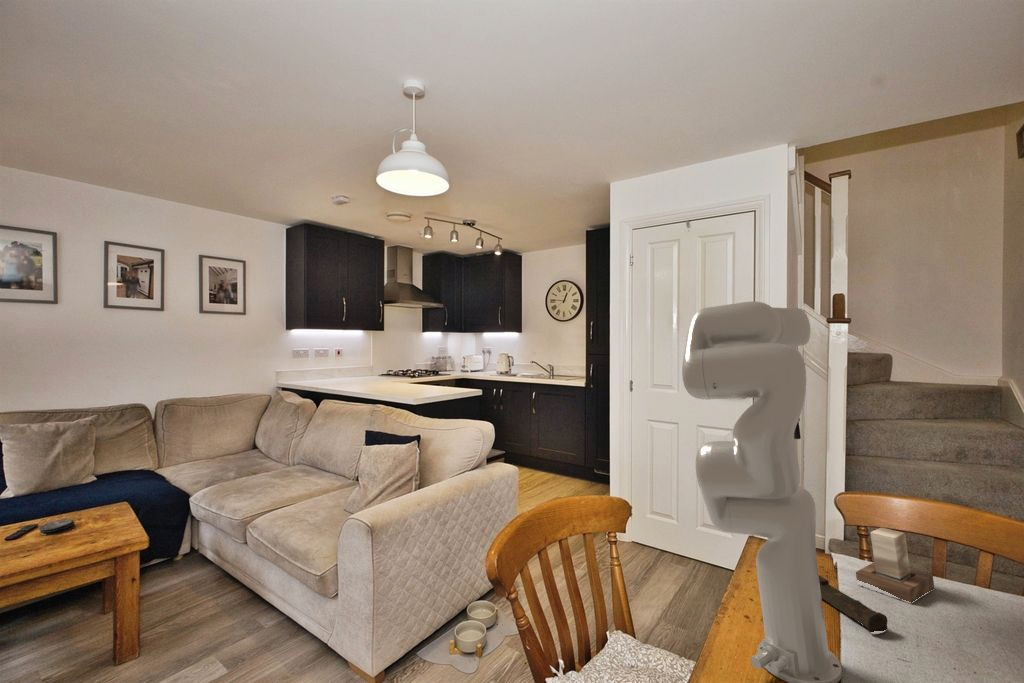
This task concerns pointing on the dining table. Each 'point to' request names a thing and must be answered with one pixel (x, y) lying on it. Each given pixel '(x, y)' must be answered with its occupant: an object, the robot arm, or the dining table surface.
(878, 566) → the peg
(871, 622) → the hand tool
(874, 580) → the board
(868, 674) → the dining table surface
